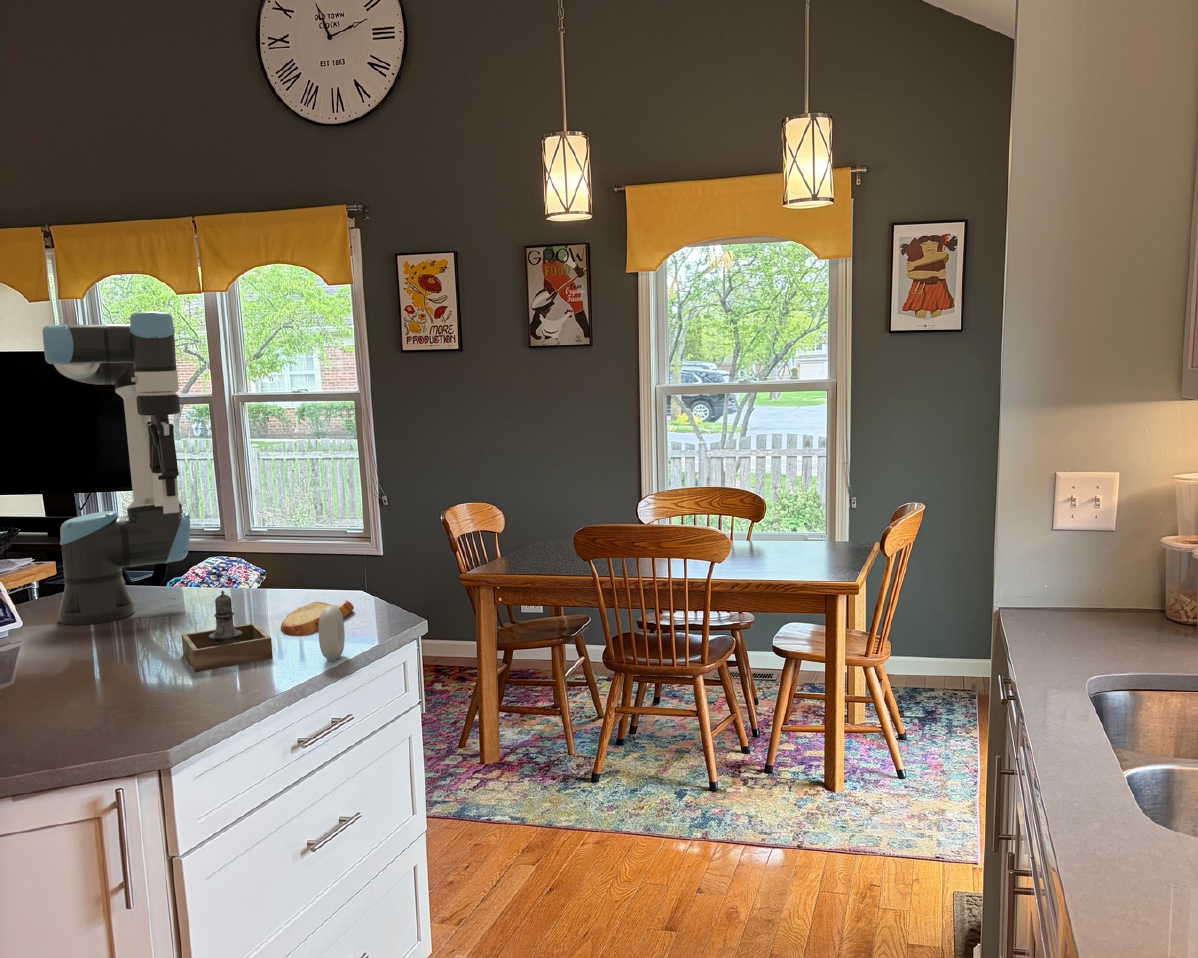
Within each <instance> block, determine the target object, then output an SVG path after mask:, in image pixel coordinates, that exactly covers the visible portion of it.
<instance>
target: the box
mask: <svg viewBox="0 0 1198 958" xmlns="http://www.w3.org/2000/svg"><path fill="white" fill-rule="evenodd" d="M234 627H235V629H236V630H239V631H242V634H241V638H240V641H239V642H237V643H231V644H225V645H219V646H214V645H213V644H212V642H211V638H209V635H210V634H212V633H214V632H215V631H216V628H215V629H210V630H202V631H197V632H192V633H191V632H190V633H184V634H181V644H182V655H183V657H184V659H185V660H186V662H187V663H188V664H189V666H190V667H191V668H192V670H193V671H194V673H199V672H205V671H211V670H216V669H222V668H228V667H233V666H239V665H245V664H250V663H255V662H260V661H261V662H262V661H267V660H268V661H269V660H272V659H274V656H273V643H272V637H271V636H270V635H269V634H268V633H266V632H265V630H264V629H263V628H261V627H260V626H259V625H258V624H257V623H256V622H254V623H248V624H241V625H235V626H234Z"/></svg>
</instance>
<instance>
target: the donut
mask: <svg viewBox="0 0 1198 958" xmlns="http://www.w3.org/2000/svg"><path fill="white" fill-rule="evenodd" d="M345 636H346V635H345V623H344V619H343V616H342V613H341V611H340V610H339V609H338V608H337V607H335V606H329V607H326V608H325V609H324V610H323V611H322V613H321V615H320V619H319V631H318V641H319V649H320V651H321V654H322V656H323V657H324V658H325V659H326V660H329V661H332V662H333V661H336V660H338V659H339V658H340V657H341V656H342V655H343V651H344V648H345V639H346V637H345Z"/></svg>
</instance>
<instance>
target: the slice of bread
mask: <svg viewBox="0 0 1198 958" xmlns="http://www.w3.org/2000/svg"><path fill="white" fill-rule="evenodd" d="M344 601H345V602H344V603H342V604H341V605H337V604H336V605H335V604H330V603H326V602H321V601H313V602H311V603H309V604H306V605H303V606H302V607H301V606H300V607H298V608H297V609H294V610H293V611H291V612H289V613H288V614H287V615H286V616H285V619H283V620H282V621H281V625H280V632H281V633H283V634H284V635H286V636H287V635H288V636H292V637H293V636H295V637H297V636H298V637H299V636H306V635H311V634H312V633H316V632H319V619H320V615H321V613H322V611H323V610H324V609H325V608H326V607H329V606H335V607H337V608H338V609H339V610H340V611H341V613H342V616H343V620H344V619H345V618H346V617H347V616H348V615H349V614H351V612H353V611H354V610H355V609H354V608H355V607H354V605H353V604H352V603H351V601H349V600H344Z"/></svg>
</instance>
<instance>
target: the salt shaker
mask: <svg viewBox="0 0 1198 958" xmlns="http://www.w3.org/2000/svg"><path fill="white" fill-rule="evenodd" d="M214 604H215V606H214V607H215V613H214V614H213V617H214V618H215V625H216V627H215V629H216V631H215V632H214V633H212V634H210V635H209V638H211V642H212V644H213V645H214V646H219V645H225V644H231V643H237V642H239V641H240V638H241V634H242V631H239V630H236V629H235V627H234V615H235V612H233V608H232V607H233V605H232V604H233V603H232V598H231V596H230V595H226V594H225V591H224V590H223V589H222V590H221V592H220V595H218V596H217V597H216V598H215V600H214Z"/></svg>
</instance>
